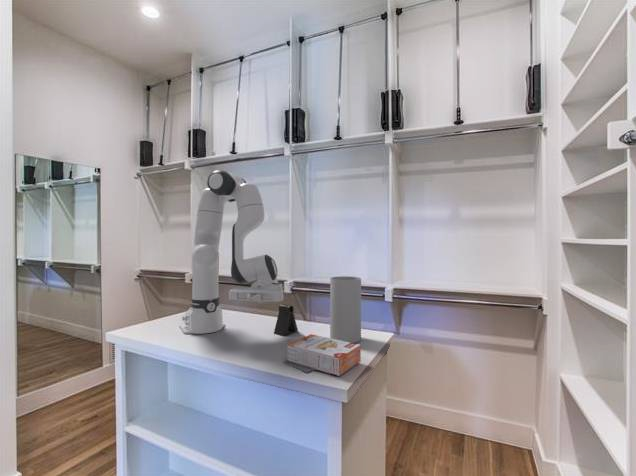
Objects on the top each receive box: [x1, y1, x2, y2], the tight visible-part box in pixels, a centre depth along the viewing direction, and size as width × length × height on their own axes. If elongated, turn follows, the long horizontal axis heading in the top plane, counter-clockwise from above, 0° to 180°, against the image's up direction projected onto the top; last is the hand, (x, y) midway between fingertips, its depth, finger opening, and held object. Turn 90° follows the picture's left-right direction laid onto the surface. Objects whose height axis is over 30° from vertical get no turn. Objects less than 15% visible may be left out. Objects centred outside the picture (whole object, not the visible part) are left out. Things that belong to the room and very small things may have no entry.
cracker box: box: [286, 333, 362, 377], centre depth 107 cm, size 14×6×21 cm
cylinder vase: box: [329, 275, 362, 344], centre depth 132 cm, size 12×12×25 cm
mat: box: [282, 359, 317, 374], centre depth 109 cm, size 12×16×1 cm
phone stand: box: [273, 303, 299, 337], centre depth 141 cm, size 9×6×12 cm, turn 142°
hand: (250, 299), depth 115 cm, fingers closed
